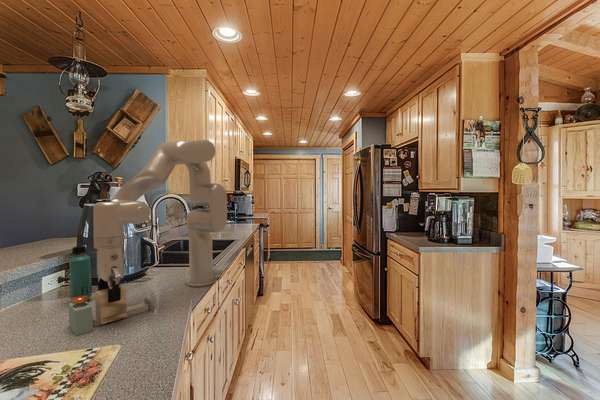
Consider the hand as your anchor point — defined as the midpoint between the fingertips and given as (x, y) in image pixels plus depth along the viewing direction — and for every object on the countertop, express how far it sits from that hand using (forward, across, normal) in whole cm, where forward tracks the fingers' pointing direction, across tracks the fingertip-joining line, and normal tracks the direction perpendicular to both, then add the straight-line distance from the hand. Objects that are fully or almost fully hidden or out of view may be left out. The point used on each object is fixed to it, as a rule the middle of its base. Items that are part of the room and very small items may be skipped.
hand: (109, 297), depth 93 cm
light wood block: (+7, 0, -1) cm, 7 cm away
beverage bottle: (+7, +25, +2) cm, 26 cm away
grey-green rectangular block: (+7, 0, +7) cm, 10 cm away
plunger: (+4, 0, +7) cm, 8 cm away
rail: (+7, 0, -4) cm, 8 cm away
